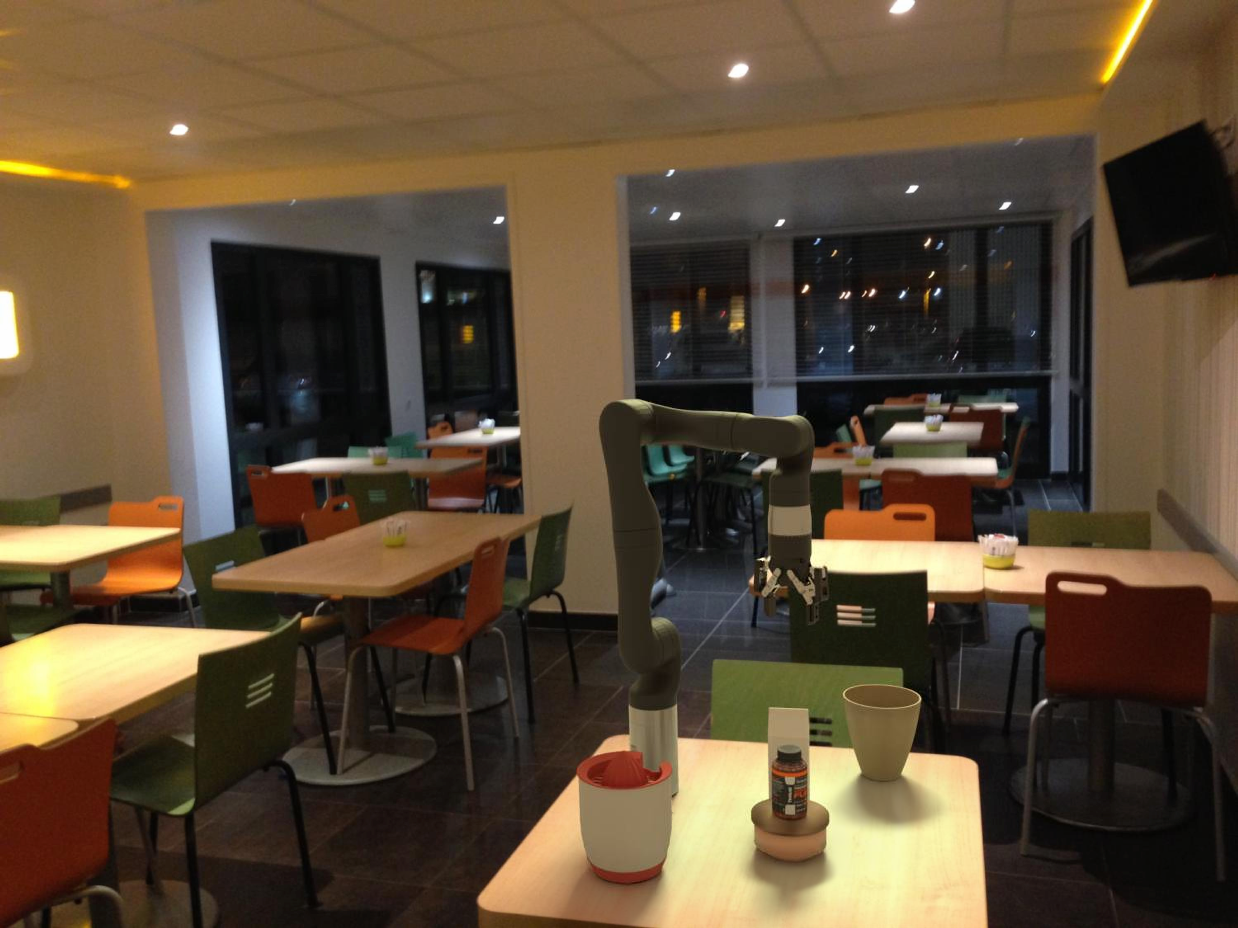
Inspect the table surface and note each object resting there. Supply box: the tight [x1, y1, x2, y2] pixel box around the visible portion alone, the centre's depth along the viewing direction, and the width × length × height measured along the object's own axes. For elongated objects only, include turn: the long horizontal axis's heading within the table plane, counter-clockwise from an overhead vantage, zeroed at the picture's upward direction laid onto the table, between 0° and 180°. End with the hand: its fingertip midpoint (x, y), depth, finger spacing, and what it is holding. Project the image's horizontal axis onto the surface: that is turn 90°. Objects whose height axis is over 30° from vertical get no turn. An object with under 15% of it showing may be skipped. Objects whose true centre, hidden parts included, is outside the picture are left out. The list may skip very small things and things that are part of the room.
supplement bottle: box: [772, 745, 807, 820], centre depth 179 cm, size 6×6×11 cm
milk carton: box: [767, 707, 811, 800], centre depth 196 cm, size 7×7×19 cm
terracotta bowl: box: [753, 824, 828, 862], centre depth 181 cm, size 12×12×6 cm
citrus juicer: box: [576, 749, 673, 885], centre depth 176 cm, size 16×17×20 cm
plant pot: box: [842, 683, 922, 782], centre depth 211 cm, size 15×15×16 cm
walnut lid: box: [750, 798, 830, 836], centre depth 180 cm, size 13×13×1 cm
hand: (790, 620), depth 190 cm, fingers open, 8 cm apart
